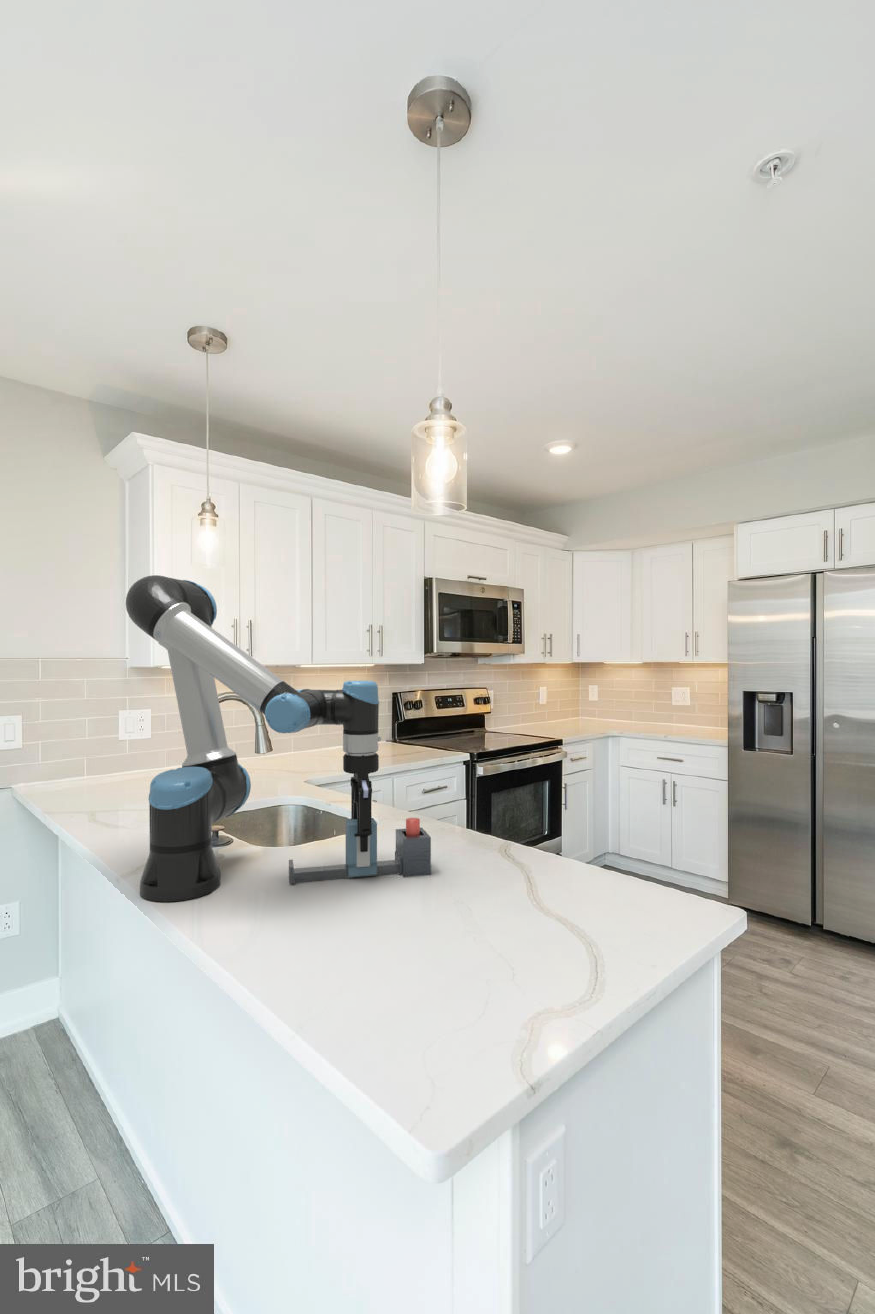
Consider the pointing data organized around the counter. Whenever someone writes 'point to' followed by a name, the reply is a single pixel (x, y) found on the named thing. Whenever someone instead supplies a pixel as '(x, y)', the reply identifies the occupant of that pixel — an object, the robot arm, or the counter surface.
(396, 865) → the rail
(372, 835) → the carriage
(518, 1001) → the counter surface
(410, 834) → the cylinder
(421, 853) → the block
